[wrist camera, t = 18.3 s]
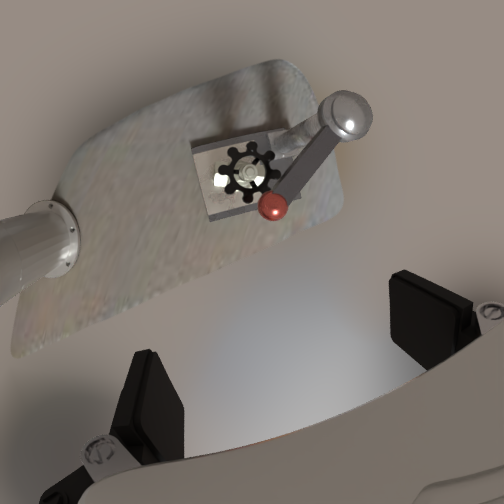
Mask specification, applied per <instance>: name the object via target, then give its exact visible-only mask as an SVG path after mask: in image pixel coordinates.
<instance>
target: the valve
mask: <svg viewBox="0 0 504 504" xmlns="http://www.w3.org/2000/svg"><path fill="white" fill-rule="evenodd" d="M246 148H247V150H246V151H245V152H242V153H240V152H239V151H238V149H237V148H236V147H230V148H229V149H228V150H227V156H229V157H230V158H231V159H232V161H231V162H229V163H228V162H219V161H216V162H215V165H214V175H213V186H220V187H224V192H225V193H226V194H228V195H232V194H234V192H235V191H241V192H242V193H243V197H242V201H243V202H244V203H246V204H250V203H252V202H253V199H254V197H253V194H254V193H256V192H261V194H263V193H265V192H267V191H270V190H271V188H270V187H268V183H269V181H270V179H273V180H278V179H280V177H281V172H280V171H279V170H278V169H274V170H273V169H271V167H270V164H269V163H270V161H272V160H274V159H275V153H274V152H273V151H271V150H269V151H266V152H265V153H264V154H263V155H262V154H260V153H258V152H257V148H258V145H257V143H256V142H254V141H250V142H248V143H247V144H246ZM244 157H254V158H255V159H254V160H253V161H252V163H251V164H250V163H247V162H245V161H241V160H240V159H242V158H244ZM259 161H260V162H261V163H262V164H263V165H257V163H258V162H259Z"/></svg>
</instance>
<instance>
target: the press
mask: <svg viewBox="0 0 504 504" xmlns="http://www.w3.org/2000/svg"><path fill="white" fill-rule="evenodd" d="M331 115H332V118H333V121H334V123H335V124H336V125H337V127H338V128H339V129H340V130H342V131H343V132H345V133H347V134H350V135H357V134H361V133H364V132H366V131H367V130H368V129H369V128H370V126H371V124H372V120H373V115H372V110H371V107H370V105H369V104H368V102H367V101H366V100H365V99H364V98H363V97H362V96H360V95H359V94H356V93H354V92H345V93H342V94H341V95H339V96H337V97H336V98H335V99H334V100H333V102H332V105H331ZM320 128H321V127H320V125H319V122H318V117H317V113H316V114H315V115H313V116H311V117H310V118H308V119H306V120H304V121H303V122H301V123H299V124H298V125H296V126H294V127H293V128H291V129H289V130H285V128H280V129H274V130H269V131H264V132H258V133H253V134H249V135H244V136H239V137H235V138H230V139H226V140H222V141H217V142H213V143H209V144H205V145H201V146H198V147H194V148H191V150H192V154H193V158H194V162H195V166H196V170H197V174H198V178H199V182H200V185H201V189H202V193H203V197H204V201H205V205H206V209H207V212H208V216H209V220H210V222H212V221H216V220H219V219H223V218H227V217H230V216H234V215H238V214H242V213H245V212H249V211H253V210H257V209H258V200H259V198H260V197H261V195H262V194H261V192H256V193H254V194H253V197H254V199H253V202H252V203H250V204H246V203H244V202H243V201H242V197H243V193H242V192H241V191H235V192H234V194H232V195H228V194H226V193H225V192H224V187H220V186H213V175H214V165H215V162H216V161H219V162H228V163H229V162H231V161H232V159H231V158H230V157H229V156H227V150H228V149H229V148H230V147H236V148H237V149H238V151H239V152H240V153H242V152H245V151H246V150H247V148H246V144H247V143H248V142H250V141H254V142H256V143H257V145H258V148H257V152H258V153H260V154H262V155H263V154H264V153H265V152H266V151H269V150H271V151H273V152H274V153H275V159H274V160H272V161H270V163H269V164H270V167H271V169H273V170H274V169H278V170H279V171H280V172H281V176H282V175H283V174H284V172H285V171H286V170H287V169H288V167H289V166H290V165H291V164H292V162H293V159H292V156H296V155H299V154H300V153H299V148H302V147H305V146H306V145H307V144H308V143H309V142H310V140H311V139H312V138H313V137H314V136H315V134H316V133H317V132H318V131H319V130H320ZM254 159H255V158H254V157H244V158H242V159H240V160H241V161H245V162H247V163H250V164H251V163H252V161H253V160H254ZM257 165H263V164H262V163H261V162H260V161H259V162H258V163H257ZM278 180H279V179H278ZM278 180H273V179H270V181H269V183H268V187H270V188H272V187H273V186H274V185H275V184H276V182H277V181H278ZM297 199H301V194H300V192H299V193H298V195H297V196H296V197H295V198H294V200H297Z"/></svg>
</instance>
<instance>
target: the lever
mask: <svg viewBox="0 0 504 504" xmlns="http://www.w3.org/2000/svg"><path fill="white" fill-rule="evenodd" d="M345 92H350V91H345V90H341V91H337V92H335V93H333V94H331V95H330V96H328V97H326V98H325V99H324V100H323V101H322V102H321V103H320V105H319V107H318V112H317V117H318V122H319V125H320V127H321V128H320V130H319V131H318V132H317V133H316V134H315V136H314V137H313V138H312V139H311V140H310V142H309V143H308V144H307V145H306V147H305V148H304V149H303V150H302V151H301V153H300V154H299V155H298V156H297V158H296V159H295V160H294V161H293V162H292V164H291V165H290V166H289V167H288V169H287V170H286V171H285V172H284V174H283V175H282V176H281V177H280V179H279V180H278V181H277V182H276V184H275V185H274V186H273V187H272V188H271V190H270V191H267V192H265V193H263V194H262V195H261V197H260V198H259V200H258V211H259V213H260V215H261V216H262V217H263V218H264V219H266V220H269V221H277V220H280V219H282V218H283V217H284V216H285V215H286V213H287V211H288V206H289V205H290V203H291V202H292V201H293V200H294V198H295V197H296V196H297V195H298V193H299V192H300V191H301V189H302V188H303V187H304V186H305V184H306V183H307V182H308V181H309V179H310V178H311V177H312V176H313V174H314V173H315V172H316V170H317V169H318V168H319V167H320V165H321V164H322V163H323V162H324V160H325V159H326V158H327V157H328V155H329V154H330V153H331V151H332V150H333V149H334V148H335V146H336V145H337V144H338V143H339V142H349V141H353V140H357V139H360V138H362V137H363V136H365V134H367V132H368V130H369V129H368V130H367V131H366V132H364V133H361V134H357V135H350V134H347V133H345V132H343V131H342V130H340V129H339V128H338V127H337V125H336V124H335V123H334V121H333V118H332V115H331V105H332V102H333V100H334V99H335V98H336V97H337V96H339V95H341V94H342V93H345Z"/></svg>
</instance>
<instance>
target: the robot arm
mask: <svg viewBox="0 0 504 504" xmlns="http://www.w3.org/2000/svg"><path fill="white" fill-rule="evenodd" d="M52 205H53V206H52ZM73 228H74V229H75V231H74V230H73ZM80 243H81V239H80V232H79V228H78V224H77V222H76V220H75V218H74V216H73V215H72V213H71V212H70V211H69V210H68V208H67V207H65V206H64V205H63V204H61V203H59V202H57V201H53V200H43V201H39V202H37V203H35V204H33V205H32V206H31V207H29V208H28V210H27V211H26V212H25V214H24V215H19V216H15V217H11V218H6V219H3V220H0V307H1V306H2V305H3V304H4V303H6V302H7V301H9V300H10V299H11V298H13V297H14V296H16V295H17V294H18V293H20V292H21V291H23V290H24V289H26V288H27V287H29V286H30V285H31V284H33V283H34V282H36V281H37V280H39V279H40V278H42V277H47V278H56V277H60V276H62V275H64V274H65V273H67V272H68V271H69V270H70V269H71V268H72V267H73V266H74V264H75V263H76V261H77V258H78V256H79V251H80ZM69 262H70V263H69ZM389 297H390V329H391V332H390V333H391V338H392V340H393V342H394V343H395V344H397V345H398V346H399V347H400V348H401V349H403V350H404V351H405V352H406V353H407V354H408V355H410V356H411V357H412V358H413V359H414V360H415V361H417V362H418V363H419V364H420V365H422V367H424V368H425V369H426V370H427V371H426V372H425V373H423V374H421V375H419V376H418V377H416V378H414V379H412V380H410V381H409V382H407V383H405V384H403V385H401V386H399V387H397V388H395V389H394V390H392V391H389V392H388V393H386V394H384V395H381V396H379V397H377V398H375V399H373V400H371V401H369V402H367V403H365V404H363V405H360V406H358V407H356V408H354V409H351V410H349V411H347V412H344V413H342V414H339V415H337V416H335V417H332V418H329V419H327V420H325V421H322V422H319V423H316V424H314V425H311V426H308V427H305V428H303V429H300V430H297V431H294V432H291V433H288V434H285V435H282V436H279V437H275V438H272V439H268V440H265V441H261V442H257V443H254V444H250V445H246V446H242V447H239V448H234V449H229V450H225V451H220V452H216V453H211V454H205V455H200V456H195V457H189V458H184V407H183V404H182V402H181V400H180V398H179V396H178V394H177V392H176V390H175V389H174V387H173V385H172V383H171V381H170V379H169V377H168V375H167V373H166V371H165V369H164V366H163V364H162V362H161V360H160V358H159V356H158V354H157V353H156V352H152V351H151V350H150V349H147V350H142V351H137V352H135V354H134V356H133V359H132V363H131V366H130V369H129V372H128V375H127V378H126V381H125V384H124V388H123V390H122V391H121V394H120V398H119V401H118V404H117V408H116V411H115V415H114V418H113V422H112V425H111V429H110V433H109V435H99V436H96V437H94V438H92V439H90V440H89V441H88V442H87V443H86V444H85V445H84V446H83V448H82V450H81V453H80V457H81V461H82V463H83V466H81V467H80V468H79V469H77V470H76V471H74V472H73V473H71V474H70V475H68V476H67V477H65V478H64V479H63V480H61V481H59V482H58V483H57V484H55V485H54V486H52V487H50V488H49V489H48V490H46V491H45V492H44V493H43V495H42V496H41V498H40V501H39V504H504V304H501V303H499V302H485V303H482V304H480V305H479V306H478V307H477V309H476V312H474V311H473V302H471V301H470V300H468V299H466V298H463V297H462V296H459V295H458V294H455V293H453V292H451V291H449V290H447V289H445V288H443V287H441V286H439V285H437V284H435V283H433V282H431V281H428V280H426V279H424V278H422V277H420V276H418V275H416V274H414V273H411V272H409V271H407V270H402V271H399V272H397V273H394V274H392V276H391V279H390V280H389Z"/></svg>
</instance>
